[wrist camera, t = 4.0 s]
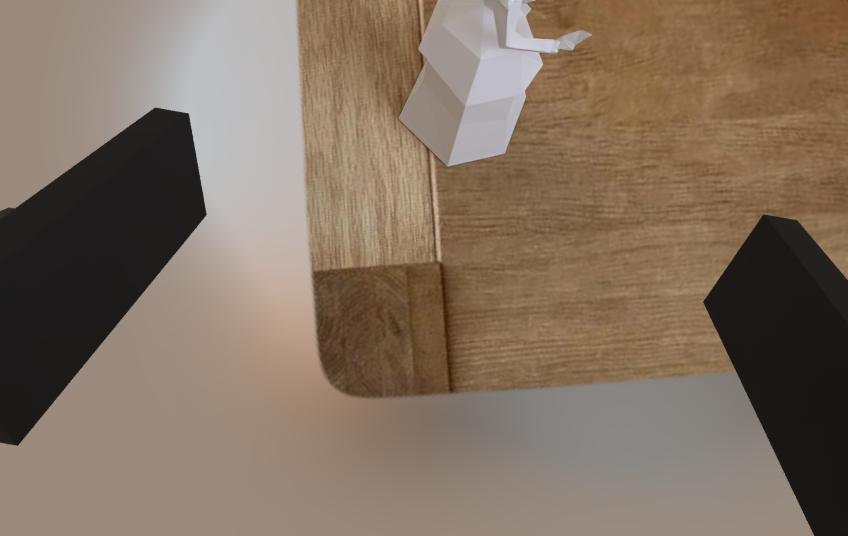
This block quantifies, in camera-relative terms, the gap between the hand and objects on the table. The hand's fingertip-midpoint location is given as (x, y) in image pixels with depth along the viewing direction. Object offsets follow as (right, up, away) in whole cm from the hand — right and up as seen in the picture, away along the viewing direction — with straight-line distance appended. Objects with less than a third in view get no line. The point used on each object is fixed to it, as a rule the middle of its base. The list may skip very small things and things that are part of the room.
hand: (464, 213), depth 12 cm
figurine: (+1, +9, +19) cm, 21 cm away
